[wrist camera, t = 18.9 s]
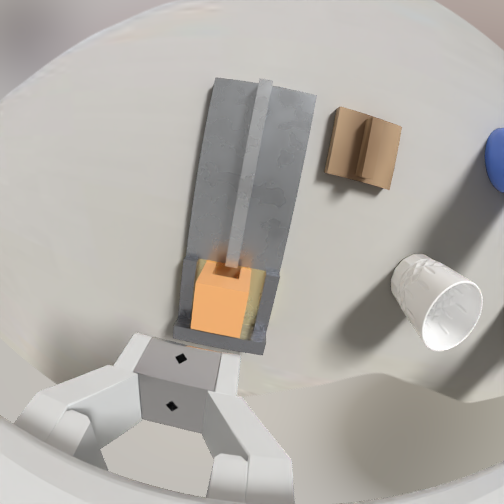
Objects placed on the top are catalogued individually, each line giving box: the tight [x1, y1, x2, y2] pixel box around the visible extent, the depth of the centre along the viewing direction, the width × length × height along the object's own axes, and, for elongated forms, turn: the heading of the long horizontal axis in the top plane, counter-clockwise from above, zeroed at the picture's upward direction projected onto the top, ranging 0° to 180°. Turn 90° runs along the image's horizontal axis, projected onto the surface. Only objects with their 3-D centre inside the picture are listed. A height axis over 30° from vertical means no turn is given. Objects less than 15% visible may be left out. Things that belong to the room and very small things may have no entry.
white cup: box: [391, 254, 483, 351], centre depth 28 cm, size 8×8×10 cm
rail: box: [173, 78, 317, 355], centre depth 29 cm, size 10×28×4 cm, turn 169°
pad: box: [324, 107, 402, 190], centre depth 26 cm, size 7×7×4 cm
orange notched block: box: [191, 261, 251, 338], centre depth 29 cm, size 5×5×6 cm
